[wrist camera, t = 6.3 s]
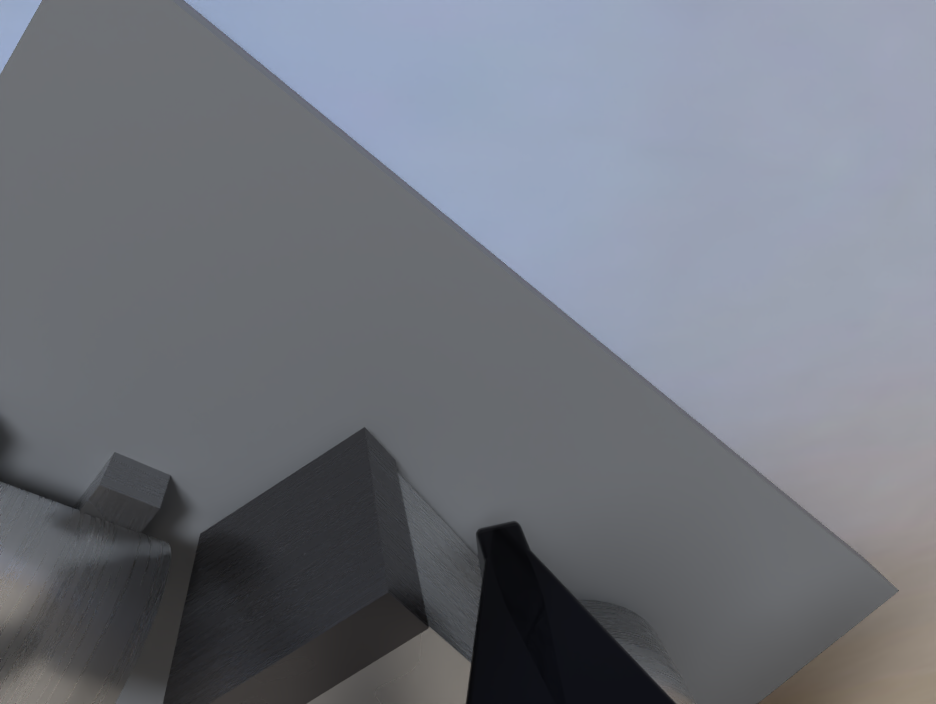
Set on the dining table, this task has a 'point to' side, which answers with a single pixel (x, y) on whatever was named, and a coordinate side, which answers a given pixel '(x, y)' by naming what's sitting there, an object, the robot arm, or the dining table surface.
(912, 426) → the dining table surface
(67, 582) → the duct stub
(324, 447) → the mat
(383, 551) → the dial knob with block
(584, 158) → the dining table surface
